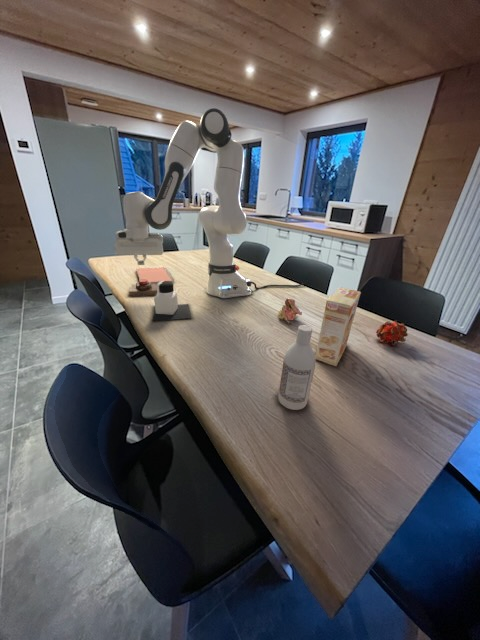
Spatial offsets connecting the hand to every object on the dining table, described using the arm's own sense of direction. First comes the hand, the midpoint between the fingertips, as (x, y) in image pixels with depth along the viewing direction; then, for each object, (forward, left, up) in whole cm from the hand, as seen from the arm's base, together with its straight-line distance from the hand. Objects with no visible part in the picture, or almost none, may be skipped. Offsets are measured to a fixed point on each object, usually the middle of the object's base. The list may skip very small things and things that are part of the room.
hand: (141, 264), depth 120 cm
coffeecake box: (-61, +64, -13) cm, 89 cm away
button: (0, 0, -9) cm, 9 cm away
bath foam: (-39, +82, -13) cm, 92 cm away
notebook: (-4, -23, -13) cm, 27 cm away
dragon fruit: (-85, +62, -13) cm, 106 cm away
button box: (0, 0, -13) cm, 13 cm away
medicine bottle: (-10, +25, -13) cm, 30 cm away
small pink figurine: (-58, +39, -13) cm, 71 cm away
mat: (-12, +26, -13) cm, 31 cm away
